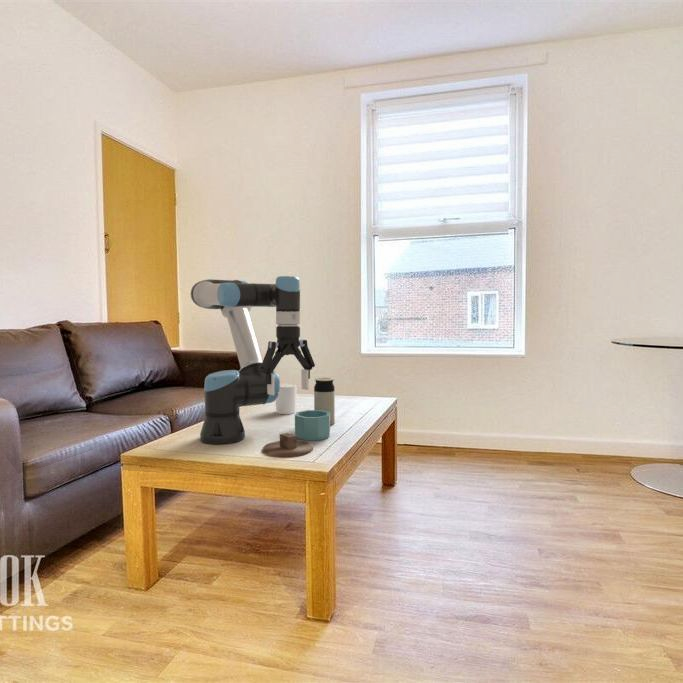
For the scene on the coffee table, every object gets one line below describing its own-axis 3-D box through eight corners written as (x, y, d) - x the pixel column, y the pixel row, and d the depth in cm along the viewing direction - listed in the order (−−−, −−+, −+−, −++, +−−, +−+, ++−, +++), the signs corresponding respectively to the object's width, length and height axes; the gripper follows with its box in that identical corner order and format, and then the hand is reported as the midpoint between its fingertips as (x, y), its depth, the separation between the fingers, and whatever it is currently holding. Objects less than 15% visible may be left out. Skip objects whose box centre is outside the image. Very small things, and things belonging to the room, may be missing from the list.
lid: (253, 450, 152) (253, 434, 152) (293, 440, 163) (292, 426, 162) (282, 462, 140) (282, 445, 140) (323, 451, 151) (323, 435, 151)
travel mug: (334, 426, 182) (334, 379, 180) (313, 426, 182) (313, 379, 181) (334, 421, 190) (334, 376, 188) (315, 421, 190) (314, 376, 189)
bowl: (289, 435, 168) (288, 413, 167) (315, 429, 176) (314, 408, 175) (310, 442, 159) (310, 419, 158) (336, 436, 167) (336, 414, 167)
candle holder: (298, 409, 211) (298, 383, 210) (295, 414, 201) (295, 387, 200) (276, 409, 211) (276, 383, 210) (272, 414, 201) (272, 386, 201)
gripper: (261, 326, 138) (262, 398, 139) (325, 324, 155) (325, 388, 156) (247, 326, 143) (248, 395, 145) (310, 324, 160) (310, 385, 162)
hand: (288, 391), depth 151 cm, fingers open, 13 cm apart
